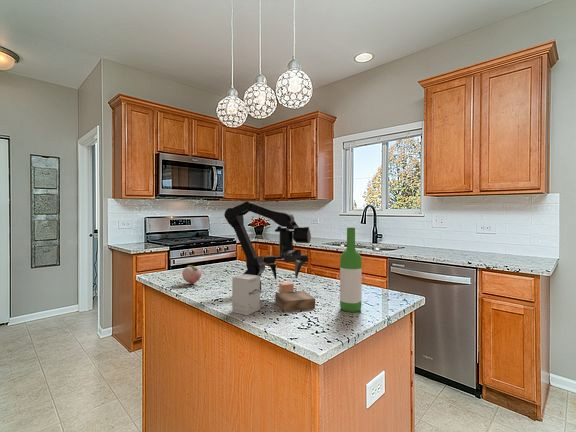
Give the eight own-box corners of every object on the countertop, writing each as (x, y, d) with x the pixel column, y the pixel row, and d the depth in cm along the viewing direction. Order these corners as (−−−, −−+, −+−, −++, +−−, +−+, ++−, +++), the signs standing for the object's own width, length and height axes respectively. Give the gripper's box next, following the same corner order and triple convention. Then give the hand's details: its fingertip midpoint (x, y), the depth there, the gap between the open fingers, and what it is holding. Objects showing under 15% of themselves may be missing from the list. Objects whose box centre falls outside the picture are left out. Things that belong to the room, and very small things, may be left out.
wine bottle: (365, 309, 118) (365, 227, 117) (354, 314, 112) (354, 228, 111) (347, 304, 123) (347, 226, 122) (335, 309, 117) (336, 227, 116)
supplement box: (247, 315, 110) (247, 279, 110) (231, 312, 114) (231, 276, 114) (260, 310, 116) (260, 275, 116) (244, 306, 120) (244, 273, 120)
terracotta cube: (282, 296, 134) (282, 285, 134) (279, 293, 139) (279, 282, 139) (293, 296, 136) (293, 284, 136) (290, 293, 140) (290, 281, 140)
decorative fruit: (178, 284, 155) (178, 264, 155) (191, 281, 162) (191, 262, 162) (191, 287, 150) (191, 266, 150) (204, 284, 157) (204, 263, 157)
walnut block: (284, 312, 115) (284, 301, 115) (275, 303, 127) (275, 292, 127) (315, 309, 119) (315, 298, 119) (304, 300, 130) (304, 290, 130)
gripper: (269, 245, 126) (269, 284, 127) (313, 243, 132) (313, 281, 132) (263, 242, 137) (263, 278, 138) (304, 241, 143) (304, 276, 143)
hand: (285, 278), depth 137 cm, fingers open, 9 cm apart
